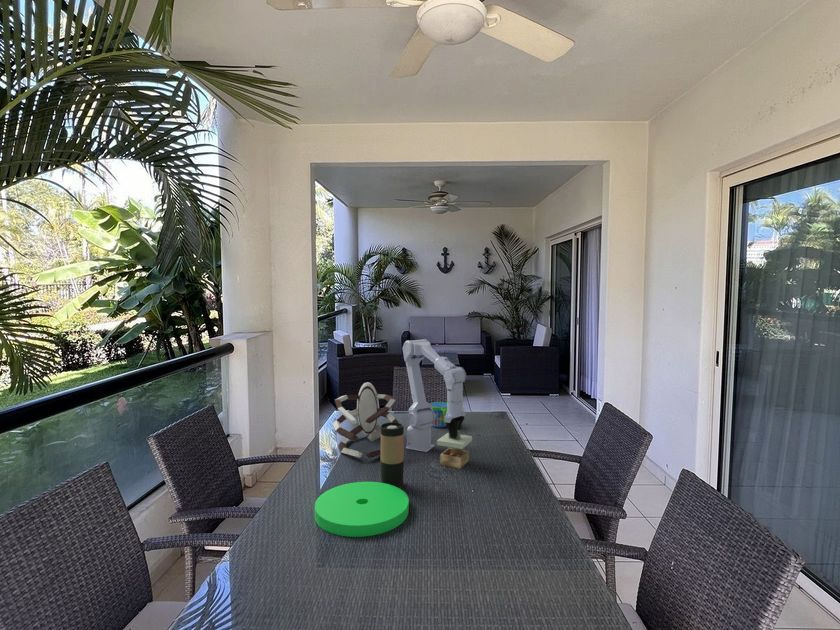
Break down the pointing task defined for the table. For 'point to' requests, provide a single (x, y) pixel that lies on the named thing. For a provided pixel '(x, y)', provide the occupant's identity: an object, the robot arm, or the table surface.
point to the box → (454, 458)
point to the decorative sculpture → (363, 417)
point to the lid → (454, 440)
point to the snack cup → (439, 413)
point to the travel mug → (392, 454)
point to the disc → (361, 509)
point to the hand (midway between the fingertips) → (454, 436)
